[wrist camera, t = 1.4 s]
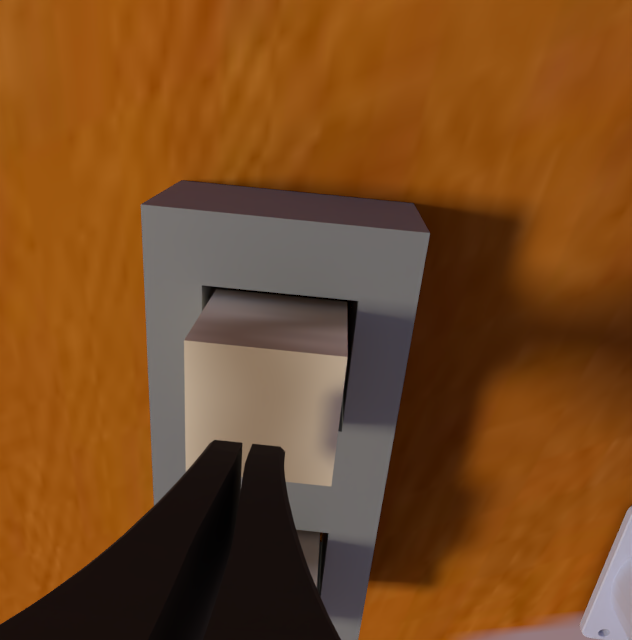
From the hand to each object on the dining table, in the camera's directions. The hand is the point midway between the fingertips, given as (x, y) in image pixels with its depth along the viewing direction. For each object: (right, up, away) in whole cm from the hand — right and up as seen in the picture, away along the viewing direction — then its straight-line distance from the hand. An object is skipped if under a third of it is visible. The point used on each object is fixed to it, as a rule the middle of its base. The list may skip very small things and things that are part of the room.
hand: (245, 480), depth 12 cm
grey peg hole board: (0, 0, +10) cm, 10 cm away
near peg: (0, +2, +6) cm, 6 cm away
